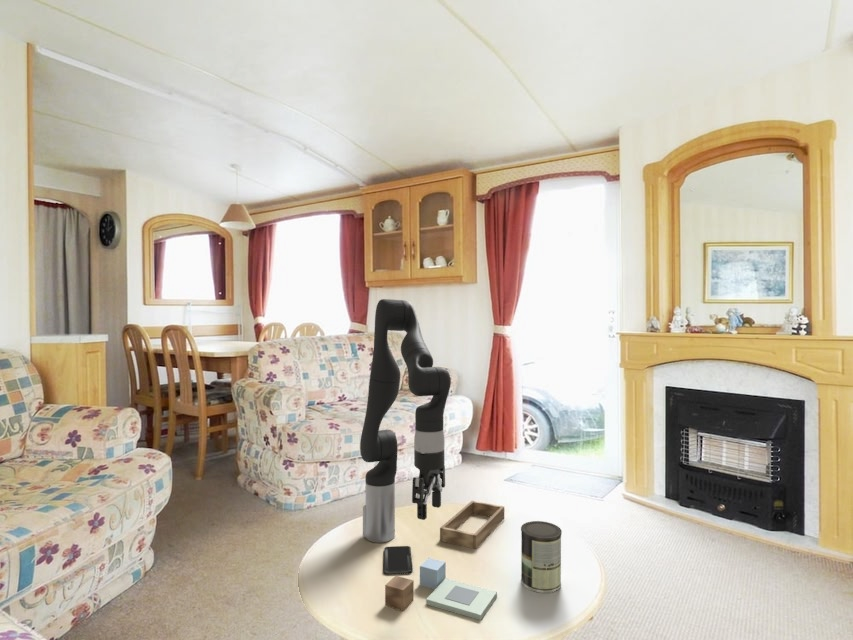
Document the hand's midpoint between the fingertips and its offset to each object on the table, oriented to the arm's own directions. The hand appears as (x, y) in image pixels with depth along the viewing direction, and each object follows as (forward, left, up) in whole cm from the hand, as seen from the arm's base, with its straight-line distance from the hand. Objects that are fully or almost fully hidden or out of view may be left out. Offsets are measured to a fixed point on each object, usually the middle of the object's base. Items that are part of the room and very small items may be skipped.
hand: (429, 512), depth 126 cm
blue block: (-2, +6, -21) cm, 21 cm away
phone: (-16, +12, -21) cm, 29 cm away
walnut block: (-5, -6, -21) cm, 22 cm away
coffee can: (+23, +19, -21) cm, 36 cm away
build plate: (+8, +2, -21) cm, 22 cm away
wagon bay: (-5, +42, -21) cm, 47 cm away
